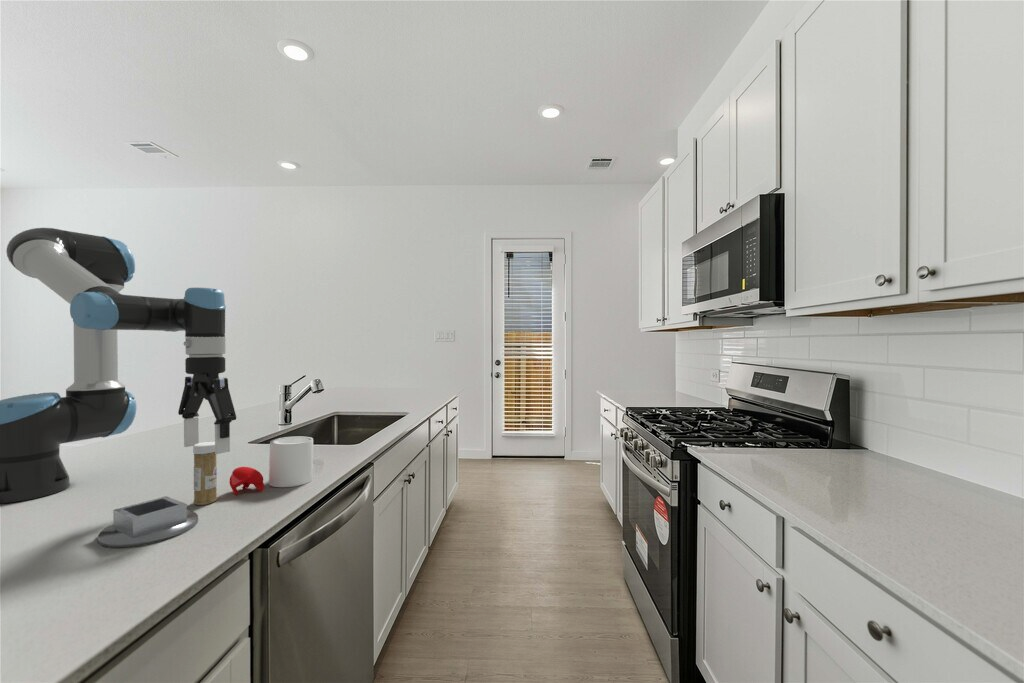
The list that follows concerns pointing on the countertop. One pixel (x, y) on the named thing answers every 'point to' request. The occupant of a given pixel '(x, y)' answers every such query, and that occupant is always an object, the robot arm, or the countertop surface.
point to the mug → (290, 461)
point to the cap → (246, 479)
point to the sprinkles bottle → (205, 473)
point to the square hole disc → (147, 523)
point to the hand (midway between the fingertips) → (206, 449)
